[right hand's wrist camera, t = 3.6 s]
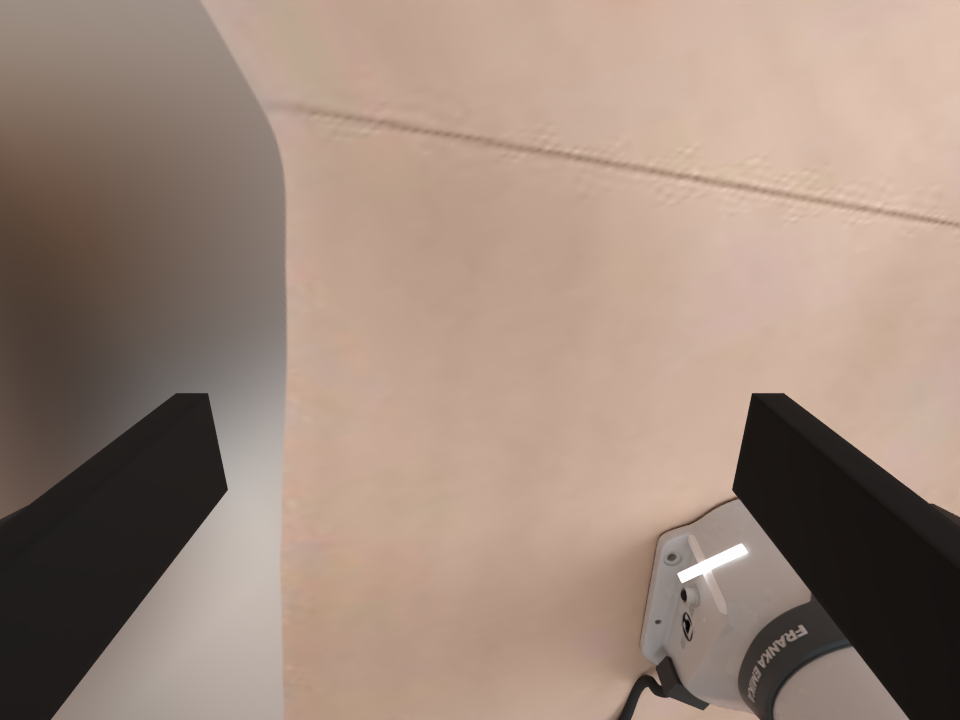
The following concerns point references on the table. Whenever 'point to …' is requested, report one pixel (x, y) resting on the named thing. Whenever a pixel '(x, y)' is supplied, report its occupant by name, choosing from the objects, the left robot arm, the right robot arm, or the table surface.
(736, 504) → the left robot arm
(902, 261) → the table surface
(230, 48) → the table surface
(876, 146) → the table surface
